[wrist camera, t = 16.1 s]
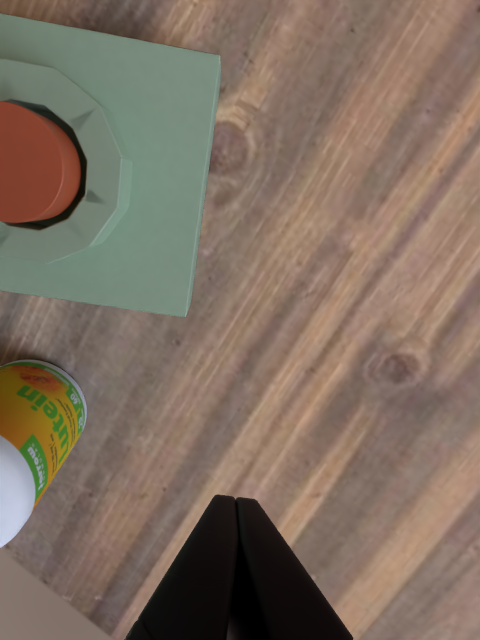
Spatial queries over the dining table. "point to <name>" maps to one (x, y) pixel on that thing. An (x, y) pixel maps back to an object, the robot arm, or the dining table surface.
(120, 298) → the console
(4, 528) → the supplement bottle
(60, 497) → the dining table surface
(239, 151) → the dining table surface
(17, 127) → the button
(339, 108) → the dining table surface
